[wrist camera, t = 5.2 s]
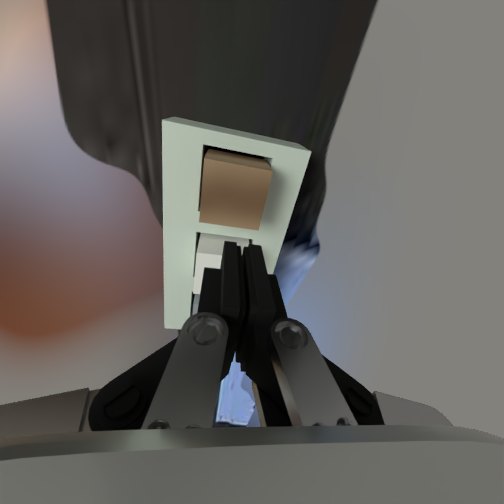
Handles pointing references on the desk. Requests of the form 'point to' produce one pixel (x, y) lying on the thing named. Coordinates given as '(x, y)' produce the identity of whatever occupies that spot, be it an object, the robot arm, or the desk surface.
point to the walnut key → (234, 189)
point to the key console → (189, 199)
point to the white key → (212, 254)
